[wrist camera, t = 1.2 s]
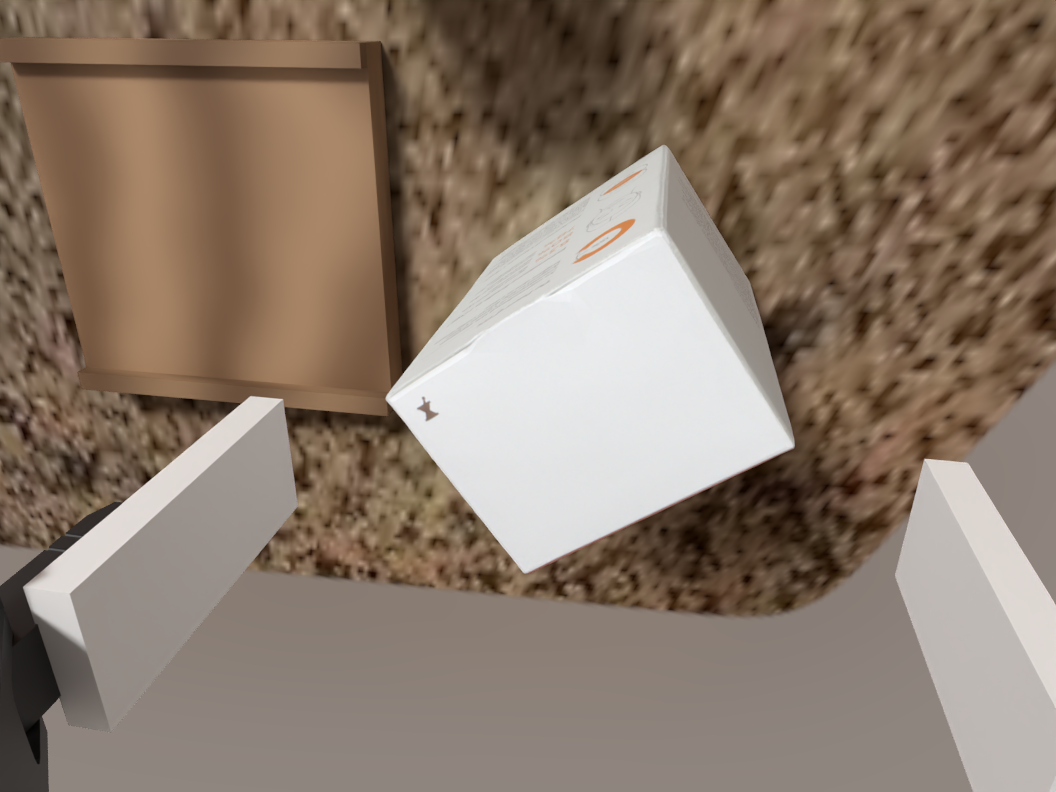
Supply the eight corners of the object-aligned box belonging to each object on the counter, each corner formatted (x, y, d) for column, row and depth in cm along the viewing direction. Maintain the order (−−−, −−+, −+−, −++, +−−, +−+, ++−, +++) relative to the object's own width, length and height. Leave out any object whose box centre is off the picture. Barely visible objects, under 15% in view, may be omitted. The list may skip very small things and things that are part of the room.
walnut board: (112, 370, 37) (81, 389, 35) (33, 37, 31) (-9, 38, 29) (403, 394, 34) (388, 416, 33) (380, 41, 28) (359, 42, 27)
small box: (578, 385, 33) (520, 583, 21) (489, 258, 31) (373, 397, 20) (757, 284, 30) (803, 451, 18) (668, 138, 28) (658, 219, 17)
